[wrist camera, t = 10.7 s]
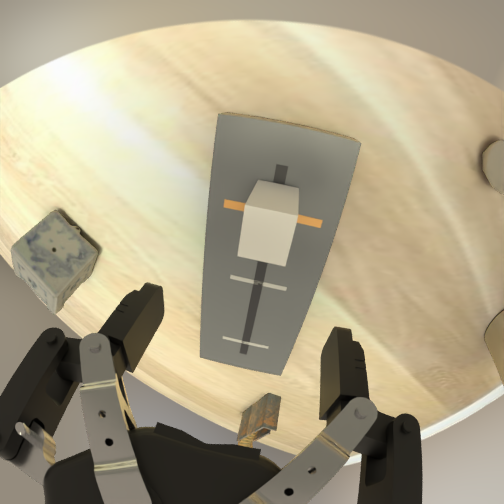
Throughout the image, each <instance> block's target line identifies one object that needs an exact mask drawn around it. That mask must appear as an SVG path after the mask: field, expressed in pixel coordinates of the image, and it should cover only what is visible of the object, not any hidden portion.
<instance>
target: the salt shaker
mask: <svg viewBox="0 0 504 504" xmlns="http://www.w3.org/2000/svg"><path fill="white" fill-rule="evenodd" d="M482 170H483V171H484V173H485V175H486V177H487V179H488V180H489V182H490V184H491V186H492V187H493V188H494V189H495V190H496V191H498V192H499V193H500V194H503V195H504V141H503V140H499V141H496V142H494V143H492V144H490V145H489V147H488V148H487V149H486V150H485V151H484V152H483V153H482Z"/></svg>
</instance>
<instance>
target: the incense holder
mask: <svg viewBox="0 0 504 504" xmlns="http://www.w3.org/2000/svg"><path fill="white" fill-rule="evenodd" d="M11 255H12V262H13V267H14V271H15V274H16V276H17V277H19V278H20V279H23V280H24V281H25V282H26V283H27V284H28V285H29V286H30V288H31V289H32V290H33V291H34V293H35V294H36V295H37V296H38V297H39V298H40V299H41V300H42V301H43V302H44V303H45V304H46V305H47V307H48V310H49V311H50V312H51V313H52V314H53V315H55V314H56V313H57V312H59V311H60V310H61V309H62V308H63V306H64V303H65V301H66V300H67V299H68V298H69V297H70V296H71V295H72V294H73V293H74V291H75V290H76V289H77V288H78V287H79V286H80V284H81V283H83V282H85V281H86V279H87V278H89V277H90V276H91V272H92V269H93V266H94V263H95V261H96V258H97V256H98V251H97V250H96V248H94V247H93V246H92V245H91V244H90V243H89V242H88V241H87V240H85V239H84V238H83V237H82V236H81V235H80V228H79V227H78V226H72V225H70V224H69V223H68V222H67V221H66V219H65V218H64V217H63V216H62V215H61V214H60V213H59V212H58V211H56V210H55V211H53V212H51V213H50V214H49V215H47V216H46V217H45V218H44V219H43V220H41V221H40V222H39V223H38V224H37V225H35V226H34V227H33V228H32V229H31V230H30V231H29V232H27V233H26V234H25V235H24V236H23V237H21V238H20V239H19V240H18V241H17V242H16V243H15V244H14V245H13V246H12V248H11Z"/></svg>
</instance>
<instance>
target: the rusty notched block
mask: <svg viewBox="0 0 504 504" xmlns="http://www.w3.org/2000/svg"><path fill="white" fill-rule="evenodd" d="M280 401H281V397H280V396H277V395H274V394H271V393H268V394H266V395H265V396H264V397H263V398H261V399H260V400H259V401H257V402H256V403H255V404H253V405H252V406H251V407H249V408H248V409H247V410H245V411H244V412H243V415H242V419H241V424H240V428H239V433H238V437H237V441H239V442H238V445H240V446H245V447H250V448H253V446H252V442H254V441H256V440H258V439H260V438H262V437H264V436H266V435H268V434H270V431H271V430H273V431H276V429H277V422H278V415H279V408H280Z"/></svg>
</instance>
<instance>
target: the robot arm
mask: <svg viewBox="0 0 504 504" xmlns="http://www.w3.org/2000/svg"><path fill="white" fill-rule="evenodd" d="M163 316H164V299H163V288H162V287H161V286H158V285H155V284H151V283H148V282H147V283H145V284H144V286H143V287H142V288H141V290H140V291H137V290H134V291H132V292H131V293H129V294H127V295H126V296H125V297H124V298H123V300H122V301H121V302H120V304H119V305H118V306H117V308H116V310H114V311H113V313H112V314H111V315H110V317H109V318H108V320H107V321H106V322H105V324H104V325H103V326H102V328H101V329H100V330H99V332H98V333H92V334H89V335H87V336H85V337H84V338H83V339H75V338H68V337H65V335H64V333H63V331H62V330H61V329H59V328H49V329H47V330H45V331H44V332H43V333H42V334H41V335H40V337H39V338H38V339H37V341H36V342H35V343H34V345H33V346H32V348H31V349H30V350H29V352H28V353H27V355H26V356H25V358H24V359H23V361H22V362H21V364H20V365H19V367H18V368H17V370H16V372H15V373H14V375H13V376H12V378H11V379H10V381H9V383H8V384H7V386H6V388H5V389H4V391H3V393H2V395H1V396H0V457H1V458H2V459H3V460H5V461H7V462H9V463H10V464H12V465H14V466H15V467H18V468H19V469H20V470H21V471H23V472H24V473H26V474H27V475H28V476H29V477H31V478H32V479H34V480H35V481H36V482H38V483H40V484H41V485H42V486H43V487H44V495H45V504H307V503H308V502H309V501H310V500H311V499H312V498H313V497H314V496H315V495H316V494H317V493H318V492H319V491H320V490H321V489H322V488H323V487H324V486H325V485H326V484H327V483H328V482H329V481H330V480H331V479H332V478H333V477H334V475H335V474H336V473H337V472H338V471H339V470H340V469H341V468H342V467H343V465H344V464H345V463H346V462H347V461H348V459H349V457H350V456H349V455H350V453H351V452H352V451H355V452H358V453H361V454H362V458H361V472H360V484H359V494H358V502H357V504H422V451H421V435H420V426H419V423H418V421H417V419H416V418H415V417H414V416H412V415H410V414H401V415H399V416H397V417H396V418H394V417H391V416H389V415H386V414H383V413H381V412H379V411H377V408H376V406H375V404H374V403H373V402H372V401H371V400H370V399H369V390H368V381H367V372H366V364H365V356H364V350H363V349H362V347H361V345H360V343H359V342H356V341H353V340H352V332H351V329H347V328H341V327H334V328H333V330H332V332H331V334H330V336H329V338H328V340H327V342H326V343H325V345H324V347H323V350H322V354H321V378H320V412H319V419H320V420H327V425H326V427H325V428H324V430H323V431H322V432H321V433H320V434H319V435H318V436H317V437H316V438H315V439H314V440H313V441H312V442H311V443H310V444H309V445H308V446H306V447H305V448H304V449H303V450H302V451H301V452H300V453H299V454H298V455H297V456H296V457H295V458H294V459H292V460H291V461H290V462H289V463H288V464H287V465H286V466H284V467H283V468H282V469H280V468H279V467H278V466H277V465H276V464H275V463H274V462H272V461H271V460H269V459H268V458H266V457H264V456H262V455H260V451H261V449H256V448H250V447H245V446H240V445H234V444H206V443H203V442H202V441H200V440H198V439H196V438H194V437H192V436H191V435H189V434H187V433H186V432H184V431H182V430H179V429H176V428H173V427H170V426H167V425H164V424H161V423H159V422H157V425H156V427H140V428H137V425H136V422H135V420H134V417H133V415H132V412H131V409H130V405H129V401H128V398H127V394H126V390H125V386H124V382H123V378H122V375H123V373H124V371H125V370H127V371H129V372H132V373H133V372H134V370H135V368H136V366H137V365H138V363H139V361H140V359H141V357H142V355H143V354H144V352H145V350H146V348H147V347H148V345H149V343H150V341H151V339H152V338H153V336H154V334H155V332H156V331H157V329H158V327H159V325H160V324H161V322H162V319H163ZM484 338H485V342H486V344H487V346H488V349H489V351H490V354H491V356H492V358H493V360H494V363H495V365H496V368H497V370H498V373H499V375H500V378H501V380H502V383H503V386H504V310H503V311H502V312H501V313H500V314H499V315H498V316H497V317H496V318H495V319H494V320H493V321H492V322H491V324H490V325H489V327H488V328H487V330H486V333H485V337H484ZM80 382H82V383H83V386H82V387H80V397H81V404H82V410H83V415H84V421H85V426H86V432H87V436H88V440H89V445H90V449H88V450H86V451H84V452H81V453H78V454H76V455H74V456H71V457H69V458H66V459H64V460H61V461H58V462H56V463H55V459H54V455H55V454H56V445H55V441H54V439H53V435H54V433H55V431H56V429H57V426H58V424H59V422H60V420H61V418H62V416H63V414H64V412H65V410H66V408H67V406H68V404H69V402H70V400H71V398H72V396H73V394H74V392H75V390H76V389H77V387H78V385H79V383H80Z"/></svg>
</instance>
